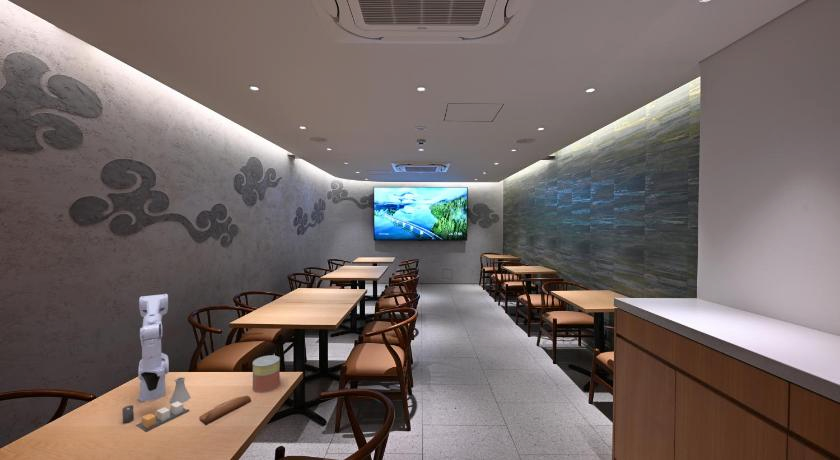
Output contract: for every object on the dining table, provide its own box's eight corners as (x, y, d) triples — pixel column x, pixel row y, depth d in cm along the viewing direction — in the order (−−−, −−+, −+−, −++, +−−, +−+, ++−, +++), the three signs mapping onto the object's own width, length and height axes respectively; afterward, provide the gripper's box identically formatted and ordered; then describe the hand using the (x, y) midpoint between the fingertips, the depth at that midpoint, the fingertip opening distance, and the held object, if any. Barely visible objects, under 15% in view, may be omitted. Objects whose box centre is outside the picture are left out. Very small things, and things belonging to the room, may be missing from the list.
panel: (135, 427, 116) (135, 423, 116) (178, 408, 129) (178, 404, 129) (146, 434, 113) (145, 430, 112) (189, 413, 125) (189, 409, 125)
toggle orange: (142, 425, 116) (141, 416, 116) (150, 421, 119) (150, 413, 118) (147, 428, 115) (147, 420, 114) (155, 424, 117) (155, 416, 117)
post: (117, 424, 118) (117, 409, 118) (132, 418, 122) (132, 403, 122) (123, 428, 116) (123, 412, 116) (138, 421, 120) (138, 406, 119)
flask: (179, 408, 128) (178, 384, 128) (164, 406, 130) (164, 382, 130) (195, 398, 136) (194, 375, 135) (181, 396, 137) (180, 373, 137)
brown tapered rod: (238, 397, 136) (243, 386, 134) (247, 410, 134) (253, 399, 132) (192, 421, 120) (197, 409, 119) (201, 435, 118) (207, 423, 116)
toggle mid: (156, 418, 120) (156, 410, 120) (164, 414, 123) (164, 407, 122) (162, 421, 119) (162, 413, 118) (169, 417, 121) (169, 410, 121)
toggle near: (170, 411, 124) (170, 404, 124) (177, 408, 127) (177, 401, 126) (175, 414, 123) (175, 407, 122) (183, 411, 125) (183, 403, 125)
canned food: (283, 379, 152) (283, 355, 152) (273, 392, 141) (273, 365, 140) (259, 380, 151) (259, 355, 151) (247, 393, 140) (247, 366, 140)
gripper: (130, 355, 123) (130, 389, 124) (148, 363, 117) (149, 399, 117) (152, 348, 130) (152, 381, 130) (170, 356, 123) (171, 390, 123)
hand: (152, 389), depth 124 cm, fingers closed
